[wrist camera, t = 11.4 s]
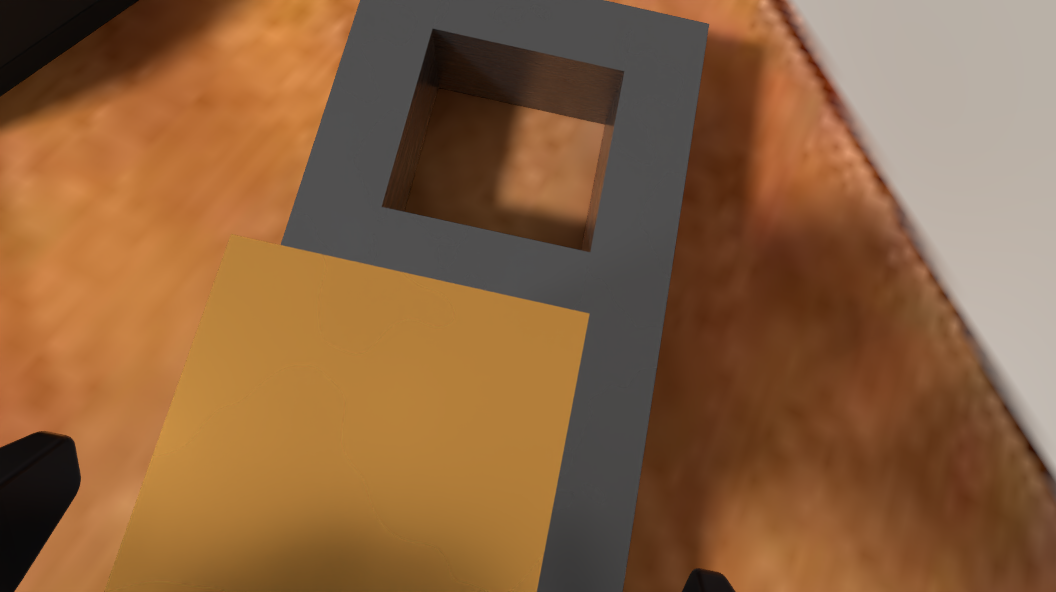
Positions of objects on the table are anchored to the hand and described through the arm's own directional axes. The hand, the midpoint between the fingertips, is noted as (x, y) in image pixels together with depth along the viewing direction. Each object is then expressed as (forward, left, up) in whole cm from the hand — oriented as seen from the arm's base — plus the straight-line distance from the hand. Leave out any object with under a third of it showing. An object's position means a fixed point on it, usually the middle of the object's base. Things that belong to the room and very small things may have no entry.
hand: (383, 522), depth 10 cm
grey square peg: (0, -1, -9) cm, 9 cm away
